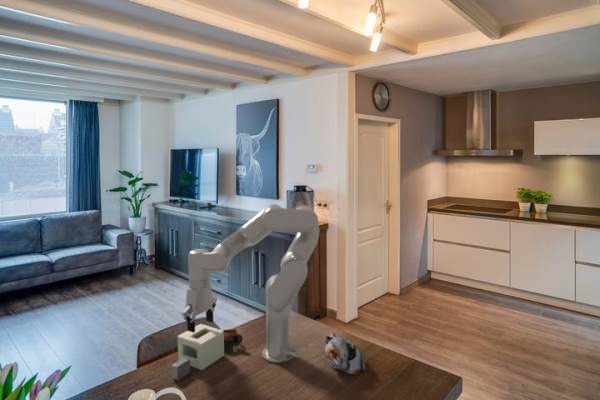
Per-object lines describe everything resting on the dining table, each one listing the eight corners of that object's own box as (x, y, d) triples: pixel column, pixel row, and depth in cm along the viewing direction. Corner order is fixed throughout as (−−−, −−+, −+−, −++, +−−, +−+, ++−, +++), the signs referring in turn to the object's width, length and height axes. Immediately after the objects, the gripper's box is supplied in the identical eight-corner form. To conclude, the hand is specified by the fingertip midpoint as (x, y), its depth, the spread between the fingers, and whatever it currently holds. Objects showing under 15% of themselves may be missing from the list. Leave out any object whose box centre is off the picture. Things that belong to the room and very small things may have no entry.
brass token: (209, 354, 148) (209, 341, 147) (198, 361, 143) (198, 348, 142) (204, 352, 149) (204, 340, 149) (193, 359, 144) (193, 346, 144)
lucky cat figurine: (368, 377, 134) (354, 349, 129) (336, 387, 136) (321, 361, 131) (360, 345, 148) (348, 319, 143) (331, 355, 150) (318, 329, 144)
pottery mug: (211, 352, 152) (211, 330, 155) (224, 352, 160) (224, 331, 163) (237, 349, 148) (237, 327, 151) (249, 350, 156) (249, 328, 159)
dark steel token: (190, 372, 137) (189, 359, 136) (177, 380, 132) (176, 367, 131) (185, 370, 138) (184, 357, 137) (172, 378, 133) (171, 365, 132)
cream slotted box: (224, 355, 148) (223, 330, 147) (202, 370, 138) (201, 343, 137) (201, 347, 154) (200, 323, 153) (178, 361, 144) (177, 336, 143)
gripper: (208, 274, 152) (209, 315, 154) (174, 287, 137) (176, 333, 139) (222, 277, 148) (223, 320, 150) (189, 291, 133) (191, 338, 135)
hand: (200, 326), depth 145 cm, fingers open, 9 cm apart
